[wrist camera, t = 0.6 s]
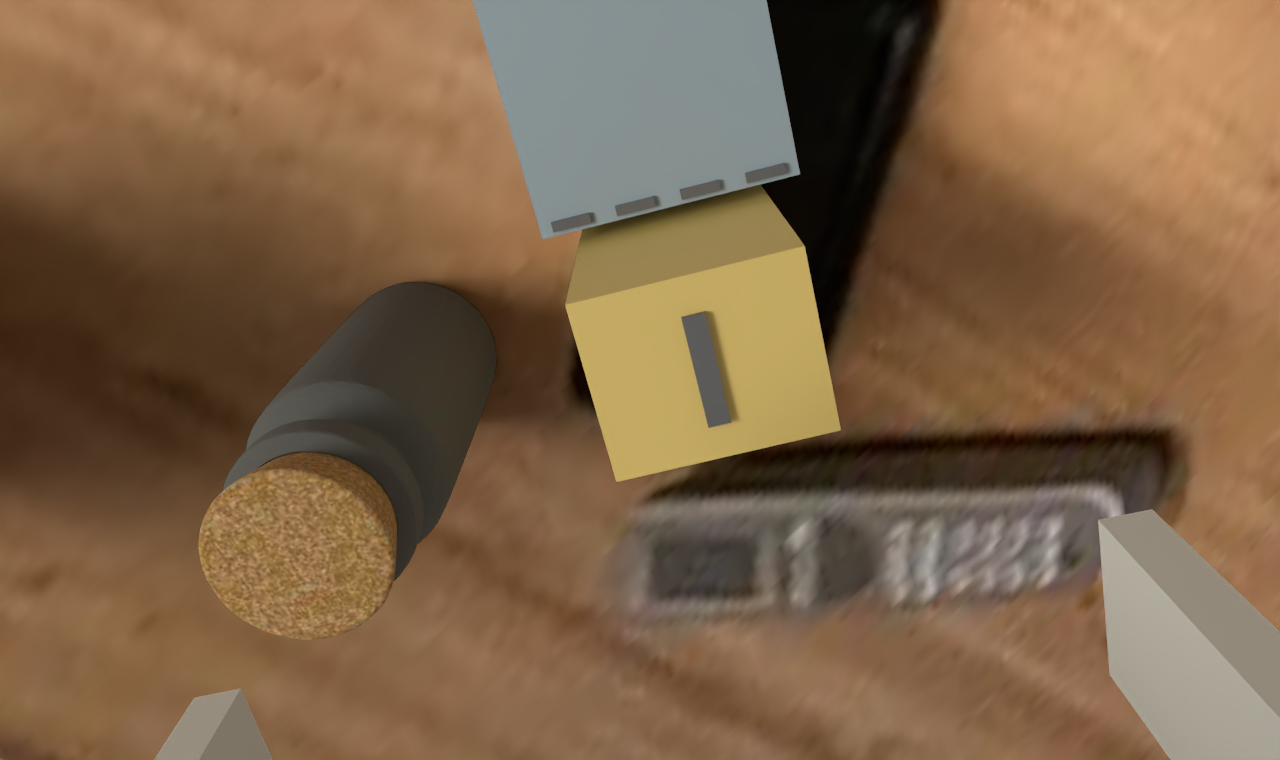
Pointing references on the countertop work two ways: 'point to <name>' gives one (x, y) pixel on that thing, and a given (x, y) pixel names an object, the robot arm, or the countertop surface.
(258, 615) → the bottle
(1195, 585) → the robot arm
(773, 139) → the slotted gray box
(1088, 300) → the countertop surface
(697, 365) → the yellow box
